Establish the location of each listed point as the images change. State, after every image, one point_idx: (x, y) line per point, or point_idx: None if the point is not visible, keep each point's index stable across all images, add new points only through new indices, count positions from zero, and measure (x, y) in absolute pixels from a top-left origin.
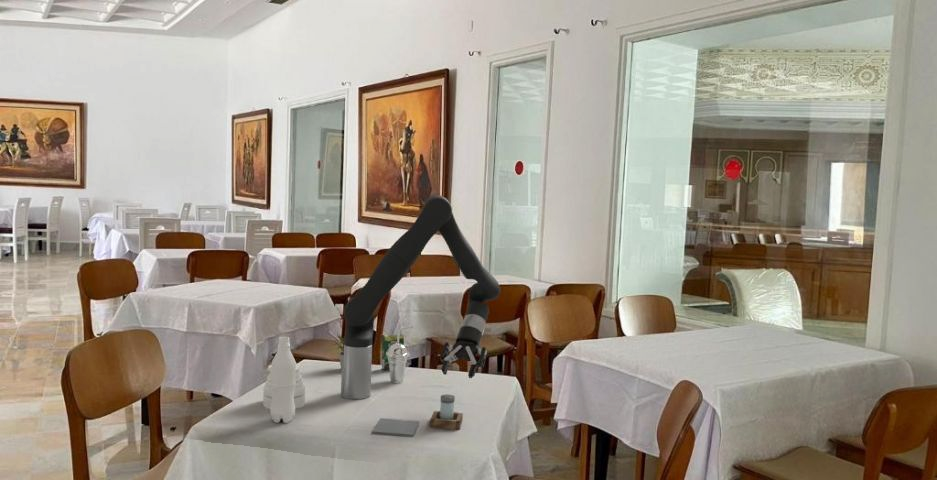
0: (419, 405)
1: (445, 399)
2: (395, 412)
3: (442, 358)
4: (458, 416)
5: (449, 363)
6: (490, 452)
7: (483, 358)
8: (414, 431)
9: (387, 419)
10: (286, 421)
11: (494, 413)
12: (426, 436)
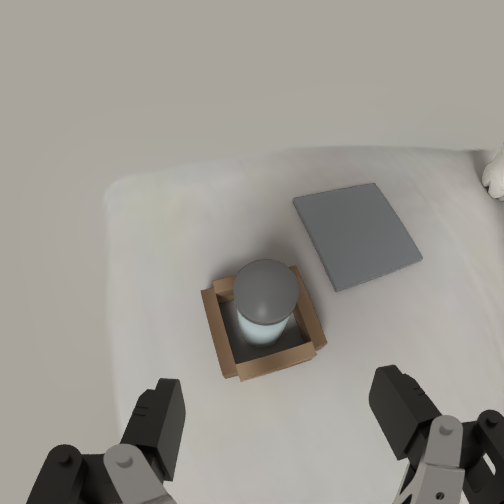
0: None
1: (262, 262)
2: (435, 334)
3: (473, 425)
4: (222, 332)
5: (406, 469)
6: (105, 201)
7: (37, 490)
8: (301, 215)
9: (406, 258)
10: (482, 179)
11: None
12: (265, 215)
